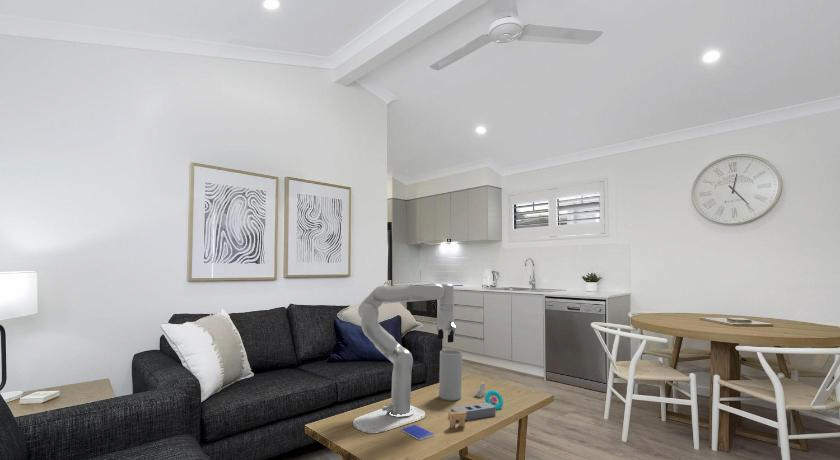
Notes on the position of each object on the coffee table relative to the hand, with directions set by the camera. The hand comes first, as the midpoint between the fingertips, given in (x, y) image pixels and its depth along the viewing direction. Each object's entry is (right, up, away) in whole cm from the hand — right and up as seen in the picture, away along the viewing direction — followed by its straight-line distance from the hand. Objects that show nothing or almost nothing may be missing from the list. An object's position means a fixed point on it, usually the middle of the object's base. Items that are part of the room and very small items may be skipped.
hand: (445, 340), depth 220 cm
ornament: (+26, -36, +2) cm, 44 cm away
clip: (+4, -33, -26) cm, 42 cm away
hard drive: (-14, -33, -34) cm, 50 cm away
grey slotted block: (+13, -34, -11) cm, 39 cm away
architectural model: (+21, -38, +21) cm, 48 cm away
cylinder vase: (+4, -36, +16) cm, 40 cm away
